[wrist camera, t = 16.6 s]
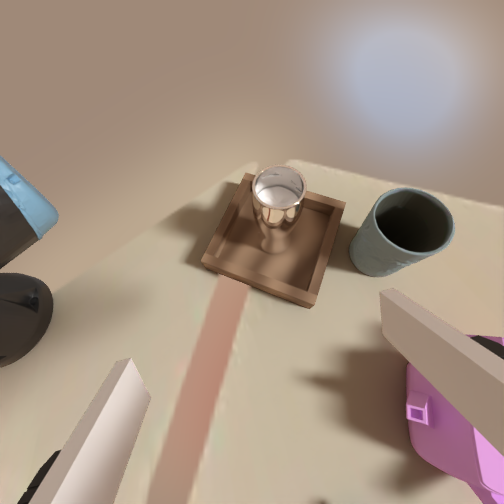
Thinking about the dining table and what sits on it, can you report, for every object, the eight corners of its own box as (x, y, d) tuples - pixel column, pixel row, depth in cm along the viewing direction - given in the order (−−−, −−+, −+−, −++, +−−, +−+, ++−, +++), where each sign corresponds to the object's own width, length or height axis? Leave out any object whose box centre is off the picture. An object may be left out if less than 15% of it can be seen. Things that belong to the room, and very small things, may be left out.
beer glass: (269, 215, 44) (272, 154, 30) (301, 234, 42) (319, 179, 28) (246, 242, 42) (238, 191, 28) (278, 264, 40) (287, 221, 26)
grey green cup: (352, 284, 39) (387, 260, 28) (337, 231, 43) (363, 191, 32) (412, 276, 39) (470, 249, 28) (391, 224, 43) (436, 182, 32)
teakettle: (553, 430, 31) (723, 480, 20) (471, 529, 28) (616, 656, 16) (444, 322, 37) (527, 312, 25) (365, 394, 34) (419, 419, 22)
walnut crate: (206, 268, 42) (200, 260, 38) (247, 186, 48) (245, 172, 44) (309, 308, 38) (314, 304, 34) (339, 214, 44) (346, 202, 41)
